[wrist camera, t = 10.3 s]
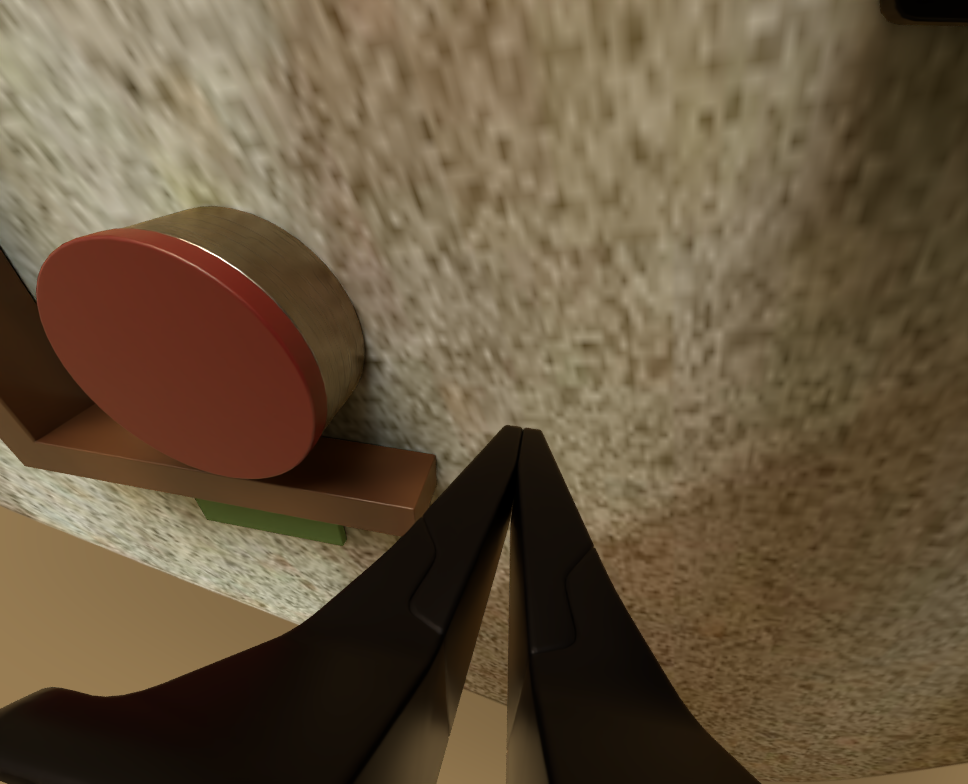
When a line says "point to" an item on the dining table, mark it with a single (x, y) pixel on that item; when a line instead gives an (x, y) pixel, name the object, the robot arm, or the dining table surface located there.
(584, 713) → the robot arm
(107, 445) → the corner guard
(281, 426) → the tin
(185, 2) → the dining table surface
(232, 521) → the green rag
